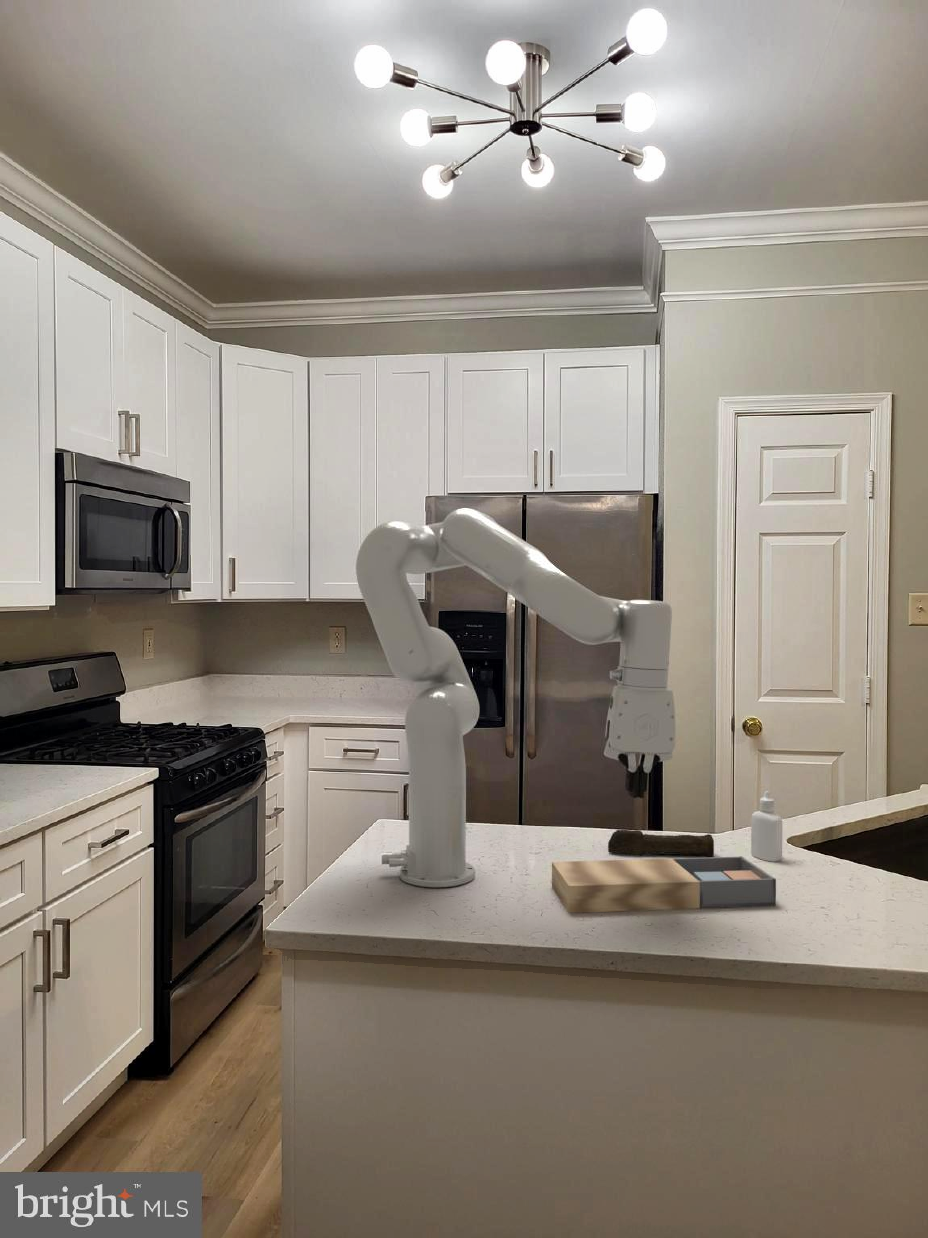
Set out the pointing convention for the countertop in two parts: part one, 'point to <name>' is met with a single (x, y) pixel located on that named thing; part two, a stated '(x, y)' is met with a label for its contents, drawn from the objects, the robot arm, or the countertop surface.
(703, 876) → the pale blue tile
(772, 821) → the eye dropper bottle
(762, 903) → the tray
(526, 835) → the countertop surface
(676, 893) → the oak board
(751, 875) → the terracotta tile
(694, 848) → the hand tool
